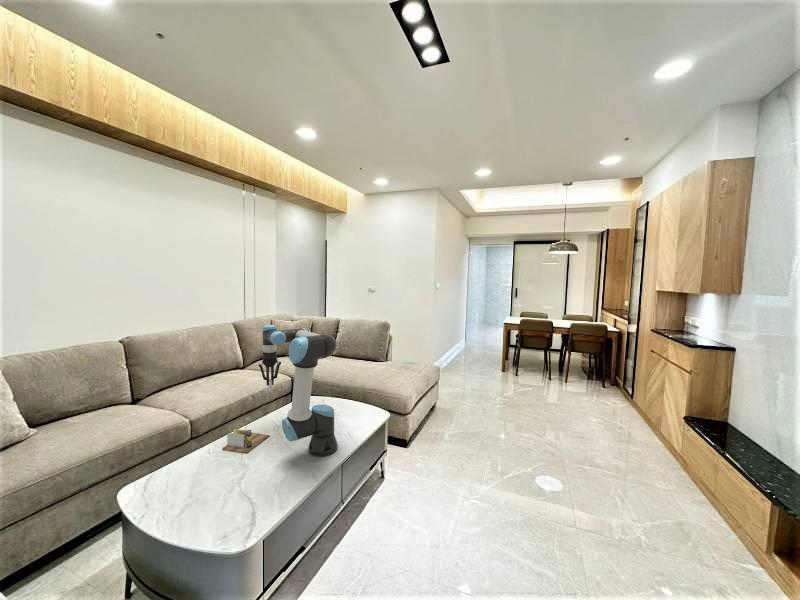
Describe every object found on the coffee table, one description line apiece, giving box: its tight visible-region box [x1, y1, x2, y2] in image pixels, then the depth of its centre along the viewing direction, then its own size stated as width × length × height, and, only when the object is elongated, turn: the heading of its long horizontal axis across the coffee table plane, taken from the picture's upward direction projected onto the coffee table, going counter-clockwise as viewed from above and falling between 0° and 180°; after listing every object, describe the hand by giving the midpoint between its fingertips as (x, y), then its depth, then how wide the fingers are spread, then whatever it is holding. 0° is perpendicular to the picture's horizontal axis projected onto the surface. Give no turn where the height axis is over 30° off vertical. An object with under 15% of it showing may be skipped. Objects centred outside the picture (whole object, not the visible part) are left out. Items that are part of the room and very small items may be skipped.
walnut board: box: [221, 432, 270, 454], centre depth 180 cm, size 15×19×1 cm
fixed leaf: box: [226, 429, 253, 449], centre depth 175 cm, size 12×4×9 cm, turn 77°
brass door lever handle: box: [232, 428, 252, 444], centre depth 176 cm, size 12×4×7 cm, turn 79°
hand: (270, 390), depth 194 cm, fingers closed
